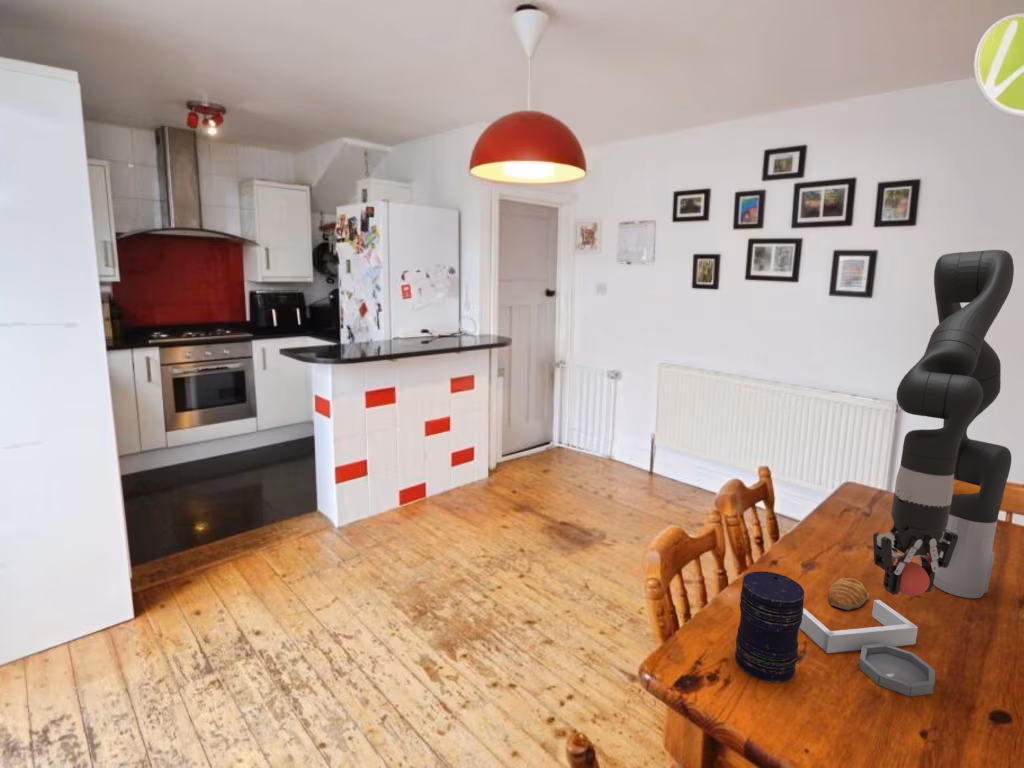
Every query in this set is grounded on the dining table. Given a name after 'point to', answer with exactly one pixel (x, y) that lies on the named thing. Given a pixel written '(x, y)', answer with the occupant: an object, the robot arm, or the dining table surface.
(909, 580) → the ball
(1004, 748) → the dining table surface
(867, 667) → the dish
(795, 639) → the dark blue ridged cylinder
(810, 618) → the white u-shaped bracket
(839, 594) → the pastry
